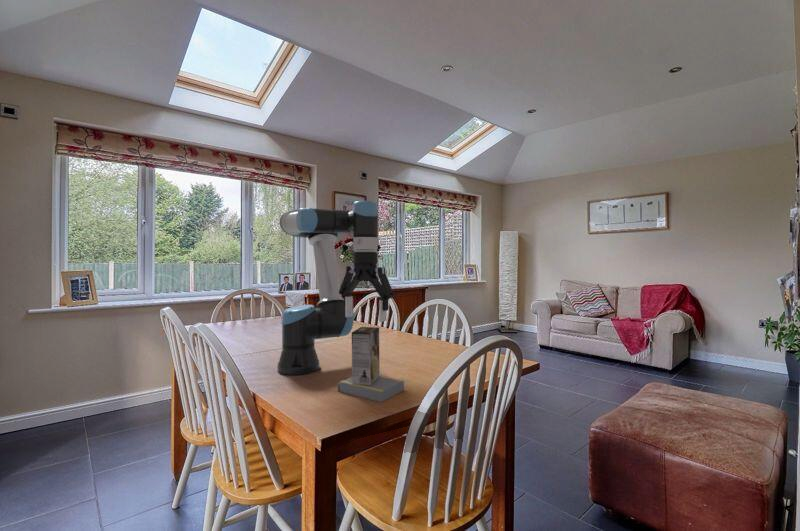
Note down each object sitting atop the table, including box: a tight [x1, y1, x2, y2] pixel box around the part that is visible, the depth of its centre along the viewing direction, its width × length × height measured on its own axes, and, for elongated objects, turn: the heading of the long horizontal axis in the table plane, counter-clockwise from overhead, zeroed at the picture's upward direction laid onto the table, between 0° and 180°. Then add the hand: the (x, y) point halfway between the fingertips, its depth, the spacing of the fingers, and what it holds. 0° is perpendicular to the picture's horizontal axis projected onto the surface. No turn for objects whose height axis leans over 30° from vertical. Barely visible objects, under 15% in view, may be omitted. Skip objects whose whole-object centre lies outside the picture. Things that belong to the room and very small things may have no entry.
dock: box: [337, 374, 405, 403], centre depth 120 cm, size 17×12×3 cm
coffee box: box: [351, 326, 381, 385], centre depth 120 cm, size 9×6×16 cm
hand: (365, 318), depth 120 cm, fingers open, 13 cm apart
